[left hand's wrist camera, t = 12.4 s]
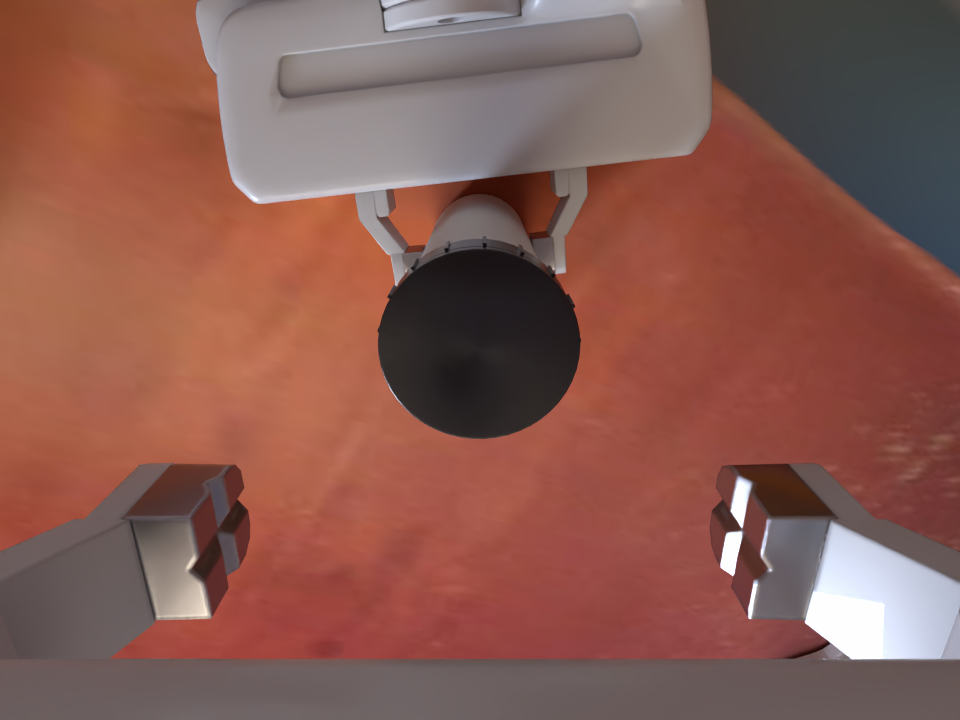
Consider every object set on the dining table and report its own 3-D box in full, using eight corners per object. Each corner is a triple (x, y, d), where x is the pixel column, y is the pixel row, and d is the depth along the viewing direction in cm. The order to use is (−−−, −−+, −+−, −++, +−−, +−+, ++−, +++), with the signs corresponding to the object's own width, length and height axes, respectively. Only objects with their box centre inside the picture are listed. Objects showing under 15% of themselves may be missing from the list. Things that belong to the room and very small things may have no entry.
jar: (490, 302, 34) (499, 451, 19) (415, 252, 33) (358, 364, 18) (543, 229, 33) (602, 323, 17) (467, 174, 32) (455, 221, 16)
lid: (501, 448, 20) (502, 474, 18) (348, 354, 19) (336, 373, 17) (613, 309, 18) (625, 326, 17) (452, 195, 17) (450, 202, 15)
